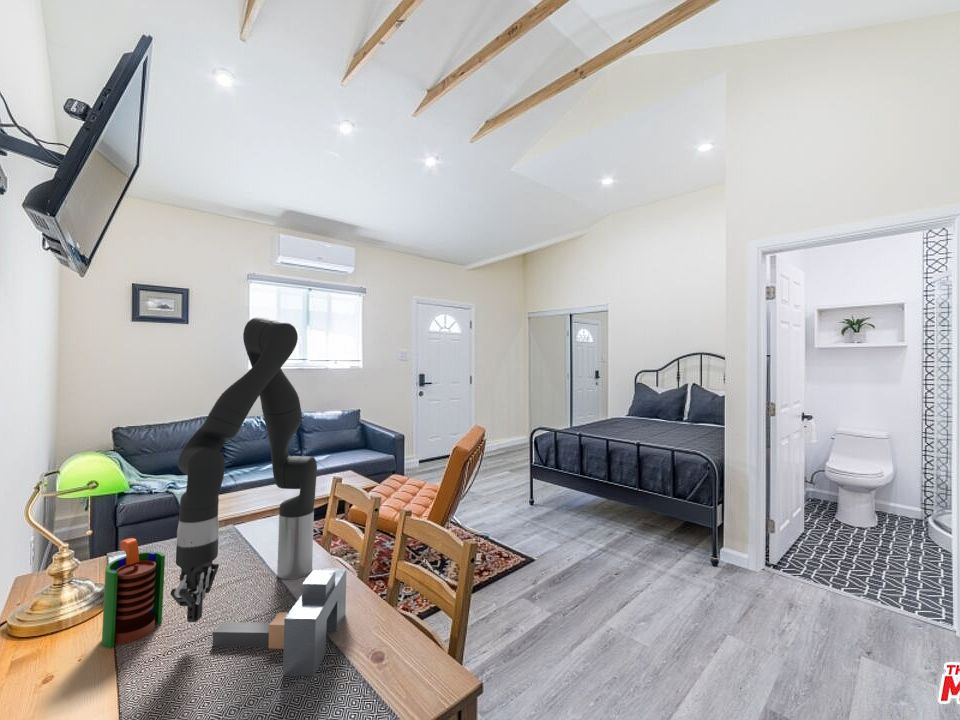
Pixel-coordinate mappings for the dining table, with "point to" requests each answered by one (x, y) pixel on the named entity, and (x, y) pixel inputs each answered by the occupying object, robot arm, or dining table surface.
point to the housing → (313, 621)
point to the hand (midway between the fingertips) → (194, 619)
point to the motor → (132, 595)
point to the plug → (251, 633)
